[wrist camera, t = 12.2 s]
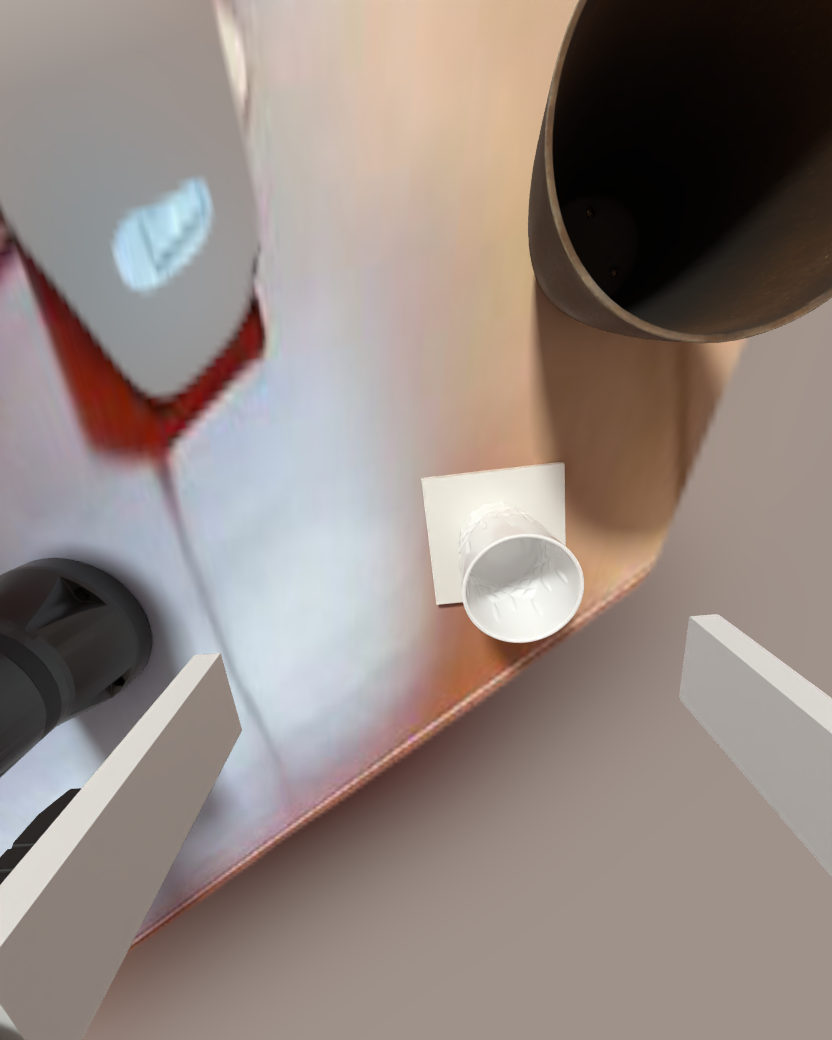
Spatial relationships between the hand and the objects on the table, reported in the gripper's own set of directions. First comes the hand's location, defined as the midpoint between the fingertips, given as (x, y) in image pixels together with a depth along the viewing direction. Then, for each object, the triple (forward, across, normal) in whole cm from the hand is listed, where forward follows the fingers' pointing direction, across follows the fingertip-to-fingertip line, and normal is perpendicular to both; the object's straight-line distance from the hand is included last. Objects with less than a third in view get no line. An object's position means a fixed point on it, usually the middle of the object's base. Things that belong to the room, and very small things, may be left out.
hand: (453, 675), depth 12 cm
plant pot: (+25, +13, +16) cm, 32 cm away
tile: (+25, +6, -5) cm, 26 cm away
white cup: (+24, +6, -5) cm, 25 cm away
